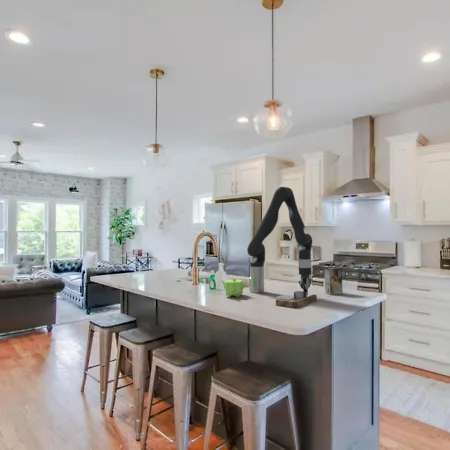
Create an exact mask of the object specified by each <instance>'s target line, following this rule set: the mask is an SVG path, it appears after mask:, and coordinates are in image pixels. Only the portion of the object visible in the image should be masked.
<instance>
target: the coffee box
mask: <svg viewBox="0 0 450 450" xmlns="http://www.w3.org/2000/svg"><path fill="white" fill-rule="evenodd" d="M323 272H324V274H323V275H324V293H325V294H327V295H330V296H331V295H342V294H343V269H342V268H339V267H328V268H327V267H326V268H323Z"/></svg>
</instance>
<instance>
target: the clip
mask: <svg viewBox="0 0 450 450" xmlns="http://www.w3.org/2000/svg"><path fill="white" fill-rule="evenodd" d="M293 297H294V299H298V300H299V299H302V298H305V297H308V295H307V292H303V291H302V290H297V291H293Z"/></svg>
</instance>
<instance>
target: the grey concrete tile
mask: <svg viewBox="0 0 450 450" xmlns="http://www.w3.org/2000/svg"><path fill="white" fill-rule="evenodd" d="M293 298H294V296H290V295H282V294H281V295H278V296H275V297H274V299H279V300H290V299H293Z"/></svg>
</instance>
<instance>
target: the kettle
mask: <svg viewBox="0 0 450 450" xmlns="http://www.w3.org/2000/svg"><path fill="white" fill-rule="evenodd" d="M219 281H220V282H221V283H222V285H223V288H224V290H225V296H227V297H228V296H229V297H228V298H232V296H235V297H236V298H240V297H241V296H242V294H243V290H244V289H245V287H246V286H247V285H248V282H244V281H243V279H237V278H236V277H235V278H232V279H228V280H227V281H226V282H225V281H224V280H219ZM243 282H244V283H243ZM240 295H241V296H240Z"/></svg>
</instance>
